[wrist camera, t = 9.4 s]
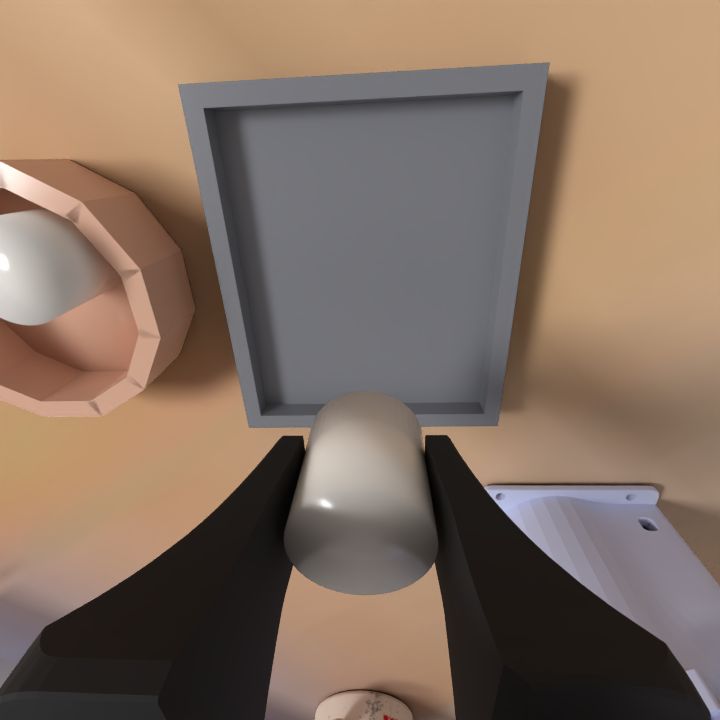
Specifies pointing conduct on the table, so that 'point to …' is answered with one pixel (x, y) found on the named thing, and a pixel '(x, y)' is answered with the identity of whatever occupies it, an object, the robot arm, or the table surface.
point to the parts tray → (369, 233)
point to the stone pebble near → (363, 498)
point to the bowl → (95, 299)
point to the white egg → (47, 267)
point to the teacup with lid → (362, 707)
